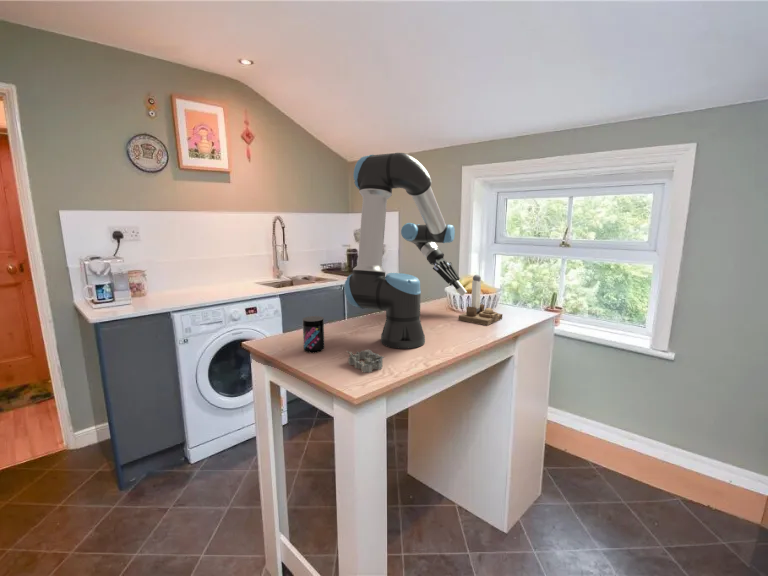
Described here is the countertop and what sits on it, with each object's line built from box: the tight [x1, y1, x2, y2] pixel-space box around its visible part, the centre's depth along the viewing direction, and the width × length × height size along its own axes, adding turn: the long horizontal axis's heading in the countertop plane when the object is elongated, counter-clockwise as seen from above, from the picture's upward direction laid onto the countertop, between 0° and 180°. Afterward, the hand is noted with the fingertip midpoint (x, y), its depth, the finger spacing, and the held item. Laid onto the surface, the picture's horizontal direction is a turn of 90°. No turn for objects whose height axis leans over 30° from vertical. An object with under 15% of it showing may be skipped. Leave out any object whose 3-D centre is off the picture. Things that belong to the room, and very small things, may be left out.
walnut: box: [484, 307, 494, 315], centre depth 156 cm, size 4×4×4 cm
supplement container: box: [302, 315, 325, 354], centre depth 121 cm, size 7×7×10 cm
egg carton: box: [346, 349, 385, 373], centre depth 109 cm, size 11×8×4 cm
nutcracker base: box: [458, 303, 503, 326], centre depth 159 cm, size 14×13×6 cm
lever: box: [470, 274, 482, 313], centre depth 159 cm, size 5×3×16 cm
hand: (464, 293), depth 163 cm, fingers closed
